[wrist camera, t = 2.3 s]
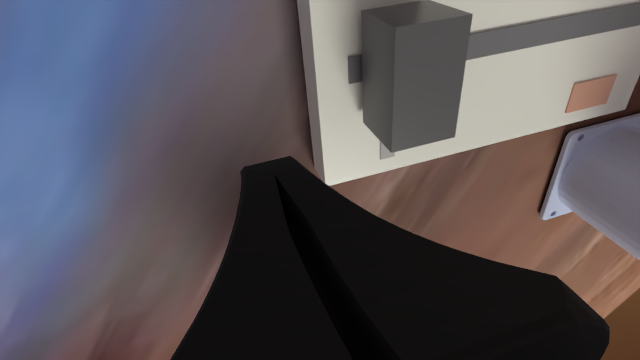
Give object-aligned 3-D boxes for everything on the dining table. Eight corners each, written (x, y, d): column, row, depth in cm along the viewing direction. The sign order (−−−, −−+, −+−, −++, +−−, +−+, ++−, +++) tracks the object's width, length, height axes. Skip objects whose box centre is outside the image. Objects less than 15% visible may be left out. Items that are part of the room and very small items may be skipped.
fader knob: (428, -1, 16) (472, 13, 14) (419, 109, 19) (454, 137, 17) (361, 10, 15) (395, 27, 13) (362, 122, 18) (391, 152, 16)
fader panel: (681, -131, 19) (730, -135, 17) (597, 97, 26) (626, 110, 24) (286, -91, 15) (301, -92, 13) (314, 167, 22) (326, 187, 20)
